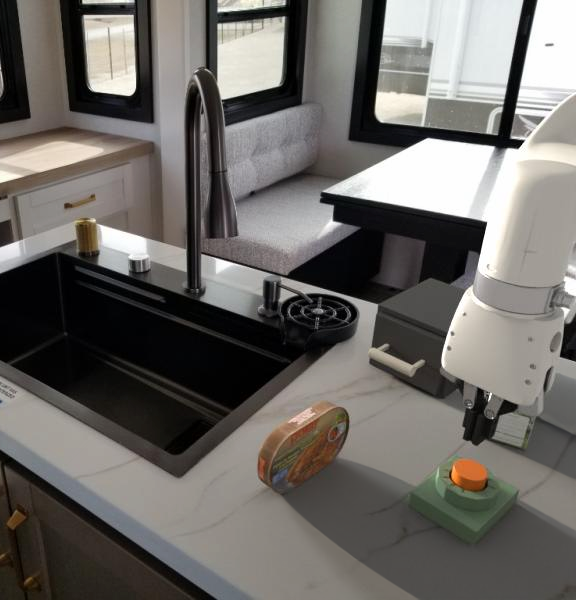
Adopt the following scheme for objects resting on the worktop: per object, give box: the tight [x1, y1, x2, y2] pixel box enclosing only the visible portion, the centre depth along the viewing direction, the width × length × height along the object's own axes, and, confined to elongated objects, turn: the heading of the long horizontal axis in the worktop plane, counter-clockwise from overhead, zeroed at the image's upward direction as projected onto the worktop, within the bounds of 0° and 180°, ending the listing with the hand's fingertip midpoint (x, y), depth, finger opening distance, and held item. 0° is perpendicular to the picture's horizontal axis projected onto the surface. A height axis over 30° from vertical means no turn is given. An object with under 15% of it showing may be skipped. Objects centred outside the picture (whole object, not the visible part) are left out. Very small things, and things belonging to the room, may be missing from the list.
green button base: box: [407, 454, 520, 547], centre depth 74 cm, size 10×8×4 cm
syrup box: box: [487, 392, 536, 450], centre depth 84 cm, size 6×6×14 cm
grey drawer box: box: [370, 277, 467, 400], centre depth 100 cm, size 15×13×11 cm
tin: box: [256, 400, 350, 495], centre depth 79 cm, size 15×3×8 cm, turn 129°
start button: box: [451, 458, 488, 492], centre depth 73 cm, size 4×4×2 cm
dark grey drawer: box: [367, 312, 446, 396], centre depth 98 cm, size 18×12×9 cm, turn 130°
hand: (476, 437), depth 71 cm, fingers closed
